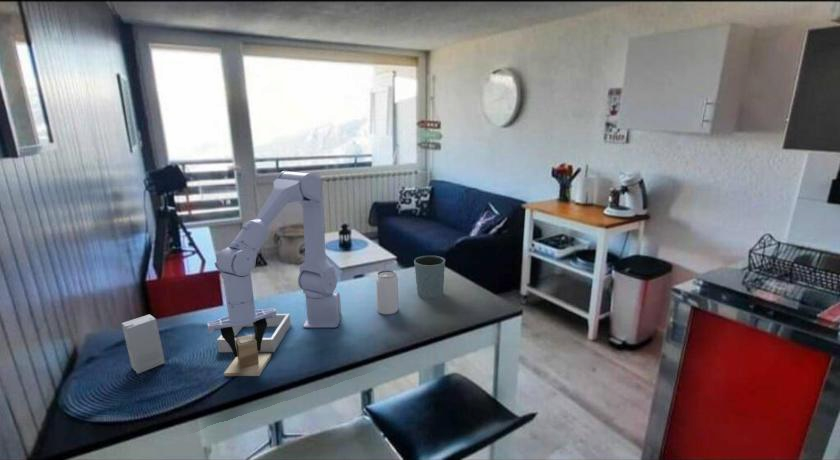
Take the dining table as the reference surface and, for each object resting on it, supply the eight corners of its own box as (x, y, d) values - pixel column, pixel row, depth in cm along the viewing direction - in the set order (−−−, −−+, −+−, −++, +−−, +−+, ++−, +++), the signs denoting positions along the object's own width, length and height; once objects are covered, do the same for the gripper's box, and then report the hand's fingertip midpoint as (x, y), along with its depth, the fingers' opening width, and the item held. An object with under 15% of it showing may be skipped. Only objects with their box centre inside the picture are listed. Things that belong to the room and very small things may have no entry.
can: (373, 313, 125) (372, 275, 122) (383, 304, 131) (382, 268, 128) (392, 316, 123) (391, 279, 120) (401, 307, 129) (401, 271, 125)
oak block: (258, 363, 98) (256, 340, 97) (240, 368, 96) (238, 344, 95) (255, 355, 102) (253, 332, 100) (238, 360, 100) (235, 337, 98)
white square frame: (290, 324, 118) (289, 313, 117) (274, 351, 105) (272, 339, 104) (241, 325, 118) (240, 313, 117) (218, 352, 105) (216, 339, 104)
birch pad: (271, 356, 103) (271, 353, 103) (259, 375, 95) (258, 372, 95) (239, 356, 103) (238, 353, 103) (224, 375, 95) (224, 372, 95)
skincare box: (159, 357, 103) (150, 312, 99) (166, 363, 100) (157, 318, 97) (130, 368, 98) (120, 322, 95) (136, 375, 95) (126, 328, 92)
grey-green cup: (445, 300, 133) (445, 265, 130) (413, 300, 134) (413, 265, 130) (444, 287, 143) (444, 255, 140) (414, 287, 143) (414, 255, 140)
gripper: (269, 286, 101) (274, 336, 105) (203, 299, 94) (211, 352, 98) (276, 296, 95) (281, 349, 99) (206, 311, 88) (214, 367, 92)
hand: (247, 352), depth 98 cm, fingers open, 4 cm apart
